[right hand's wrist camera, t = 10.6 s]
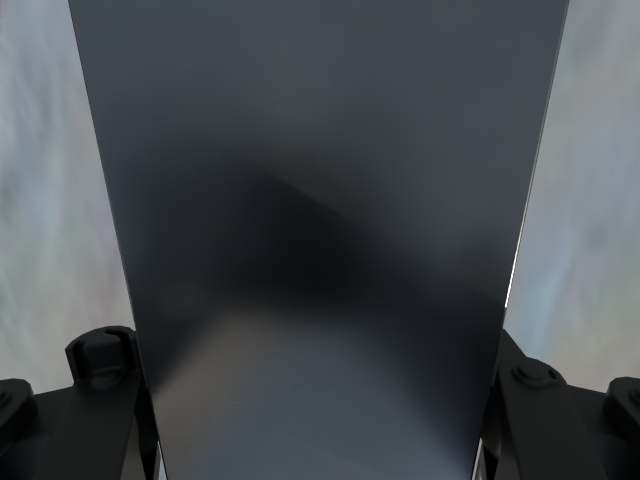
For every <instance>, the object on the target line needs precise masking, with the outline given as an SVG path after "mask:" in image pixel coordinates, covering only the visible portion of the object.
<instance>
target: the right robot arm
mask: <svg viewBox="0 0 640 480" xmlns="http://www.w3.org/2000/svg"><path fill="white" fill-rule="evenodd" d="M65 352H66V356H67V359H68V362H69V366H70V369H71V373H72V376H73V380H74V384H73V386H71V387H68V388H64V389H59V390H55V391H50V392H45V393H41V394H36V395H34V394H33V391H32V388H31V385H30V384H29V383H28V382H27V381H25V380H23V379H14V378H13V379H6V380H0V480H158V478H159V468H160V459H161V457H160V450H159V445H158V441H159V439H158V435H157V430H156V425H155V420H154V415H153V410H152V405H151V401H150V396H149V391H148V386H147V381H146V376H145V371H144V367H143V362H142V357H141V352H140V347H139V342H138V337H137V333H136V331H133V330H132V329H131V328H129V327H124V326H107V327H102V328H98V329H94V330H92V331H90V332H87V333H85V334H82V335H81V336H79V337H78V338H76V339H75V340H73V341H72V342H71V343H70V344H69V345H68V346H67V347H66V348H65ZM481 439H482V445H481V450H480V455H479V459H478V464H477V469H476V474H475V480H480V478H481V477H482V480H640V379H639V378H632V377H620V378H615V379H614V380H613V381H611V382H610V384H609V387H608V390H607V393H602V392H598V391H593V390H588V389H584V388H579V387H575V386H571V385H567V383H566V381H565V380H564V378H563V377H562V376H561V374H560V373H559V372H558V371H556V370H555V369H554V368H552V367H551V366H550V365H547V364H545V363H543V362H541V361H539V360H537V359H533V358H529V357H526V356H525V354H524V353H523V352H522V351H521V349H520V348H519V347H518V346H517V344H516V343H515V342H514V340H513V339H512V338H511V337H510V335H509V334H508V333H507V332H506V330H505V329H502V334H501V339H500V343H499V348H498V353H497V358H496V363H495V368H494V373H493V378H492V383H491V388H490V392H489V397H488V402H487V407H486V412H485V417H484V422H483V427H482V432H481Z"/></svg>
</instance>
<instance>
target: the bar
mask: <svg viewBox="0 0 640 480" xmlns="http://www.w3.org/2000/svg"><path fill="white" fill-rule="evenodd" d="M68 2H69V7H70V12H71V17H72V22H73V26H74V31H75V36H76V41H77V46H78V51H79V56H80V60H81V65H82V70H83V75H84V80H85V85H86V90H87V94H88V99H89V104H90V109H91V114H92V119H93V124H94V128H95V133H96V138H97V143H98V148H99V153H100V158H101V163H102V167H103V172H104V177H105V182H106V187H107V192H108V197H109V201H110V206H111V211H112V216H113V221H114V226H115V231H116V235H117V240H118V245H119V250H120V255H121V260H122V265H123V269H124V274H125V279H126V284H127V289H128V294H129V299H130V303H131V308H132V313H133V318H134V323H135V328H136V333H137V337H138V342H139V347H140V352H141V357H142V362H143V367H144V371H145V376H146V381H147V386H148V391H149V396H150V401H151V405H152V410H153V415H154V420H155V425H156V430H157V435H158V439H159V444H160V449H161V454H162V459H163V464H164V469H165V473H166V478H167V480H472V476H473V471H474V466H475V461H476V456H477V451H478V446H479V441H480V437H481V432H482V427H483V422H484V417H485V412H486V407H487V402H488V397H489V392H490V388H491V383H492V378H493V373H494V368H495V363H496V358H497V353H498V348H499V343H500V339H501V334H502V329H503V324H504V319H505V314H506V309H507V304H508V299H509V294H510V289H511V285H512V280H513V275H514V270H515V265H516V260H517V255H518V250H519V245H520V240H521V236H522V231H523V226H524V221H525V216H526V211H527V206H528V201H529V196H530V191H531V186H532V182H533V177H534V172H535V167H536V162H537V157H538V152H539V147H540V142H541V137H542V133H543V128H544V123H545V118H546V113H547V108H548V103H549V98H550V93H551V88H552V84H553V79H554V74H555V69H556V64H557V59H558V54H559V49H560V44H561V39H562V34H563V30H564V25H565V20H566V15H567V10H568V5H569V0H68Z"/></svg>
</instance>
